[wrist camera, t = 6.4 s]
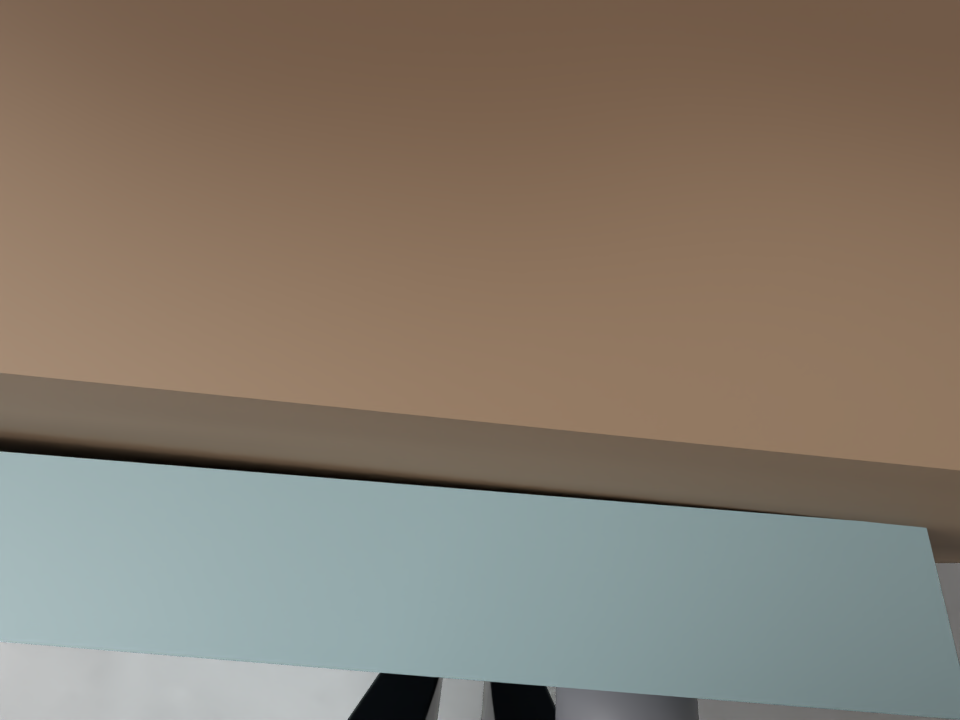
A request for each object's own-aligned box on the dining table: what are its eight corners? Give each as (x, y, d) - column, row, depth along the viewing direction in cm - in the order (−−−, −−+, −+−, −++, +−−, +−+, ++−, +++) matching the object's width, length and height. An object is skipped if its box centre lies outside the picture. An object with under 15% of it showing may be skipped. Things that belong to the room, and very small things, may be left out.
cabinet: (648, 564, 16) (1846, 560, 2) (82, 505, 16) (-2223, 144, 2) (642, 358, 19) (1166, -243, 5) (156, 310, 19) (-716, -412, 5)
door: (58, 601, 15) (-1655, 757, 3) (87, 516, 16) (-1119, 361, 4) (572, 643, 15) (1033, 975, 3) (573, 555, 16) (927, 526, 4)
